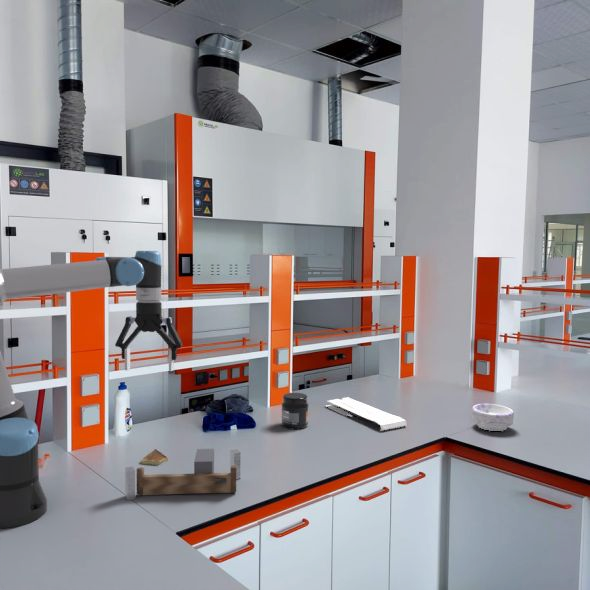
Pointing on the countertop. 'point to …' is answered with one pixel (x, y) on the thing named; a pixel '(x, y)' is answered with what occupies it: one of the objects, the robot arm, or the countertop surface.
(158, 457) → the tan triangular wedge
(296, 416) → the supplement container
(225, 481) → the gate
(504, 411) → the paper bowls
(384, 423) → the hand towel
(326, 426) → the countertop surface
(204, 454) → the rubber block
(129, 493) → the grey blocks
